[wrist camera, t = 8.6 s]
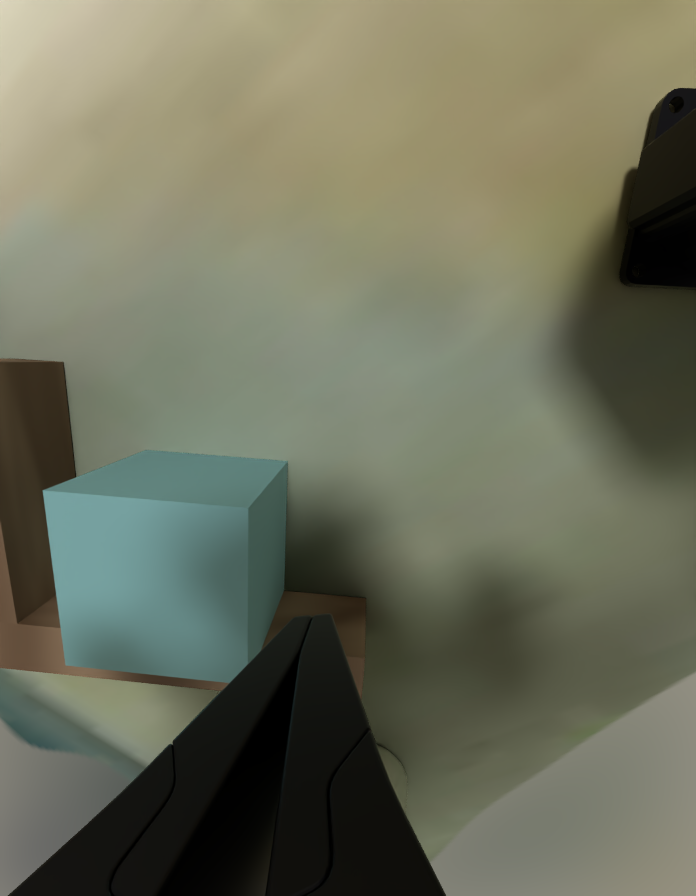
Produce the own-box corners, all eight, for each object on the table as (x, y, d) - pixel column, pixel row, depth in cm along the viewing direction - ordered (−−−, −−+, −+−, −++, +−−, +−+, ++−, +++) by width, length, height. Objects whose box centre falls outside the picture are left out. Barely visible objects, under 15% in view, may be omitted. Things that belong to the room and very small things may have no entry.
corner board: (384, 383, 17) (388, 390, 13) (362, 637, 20) (361, 705, 16) (13, 358, 17) (-89, 357, 14) (48, 607, 21) (-27, 664, 17)
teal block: (288, 460, 18) (248, 508, 12) (284, 588, 20) (247, 685, 14) (147, 449, 18) (42, 490, 12) (155, 576, 20) (65, 665, 14)
